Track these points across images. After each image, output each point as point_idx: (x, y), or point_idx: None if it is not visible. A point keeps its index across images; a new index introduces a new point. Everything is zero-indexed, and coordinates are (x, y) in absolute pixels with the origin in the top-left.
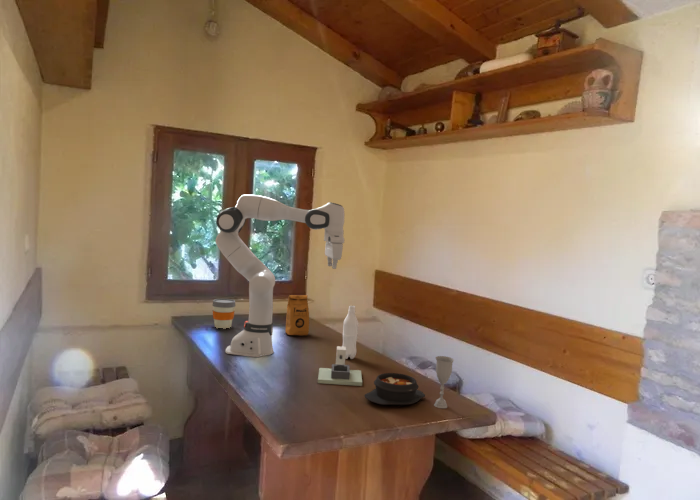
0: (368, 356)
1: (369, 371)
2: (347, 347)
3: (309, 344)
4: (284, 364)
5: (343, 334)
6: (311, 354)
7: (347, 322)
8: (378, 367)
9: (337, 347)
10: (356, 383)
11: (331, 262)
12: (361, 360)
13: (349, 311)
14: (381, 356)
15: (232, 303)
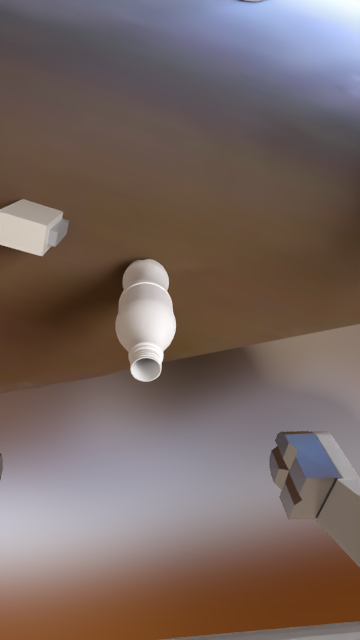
0: None
1: (13, 293)
2: (130, 279)
3: (311, 195)
4: (68, 3)
5: (140, 282)
6: (193, 166)
7: (124, 312)
8: (54, 326)
9: (27, 222)
10: None
11: (321, 516)
12: None
13: (135, 344)
14: None
15: None
